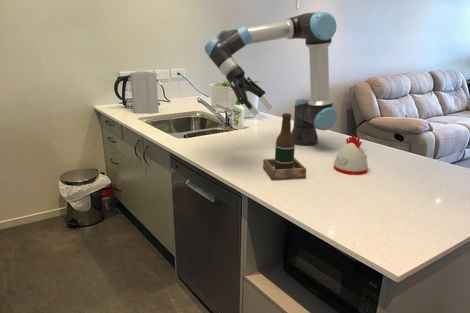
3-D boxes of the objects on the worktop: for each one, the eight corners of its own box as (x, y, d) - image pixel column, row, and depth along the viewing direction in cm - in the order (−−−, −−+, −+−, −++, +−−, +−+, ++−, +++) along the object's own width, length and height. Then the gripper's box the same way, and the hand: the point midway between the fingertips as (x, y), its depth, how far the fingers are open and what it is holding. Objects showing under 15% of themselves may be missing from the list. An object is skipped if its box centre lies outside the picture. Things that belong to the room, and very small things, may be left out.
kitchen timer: (349, 177, 147) (353, 142, 142) (326, 166, 159) (330, 133, 154) (374, 171, 153) (379, 137, 148) (350, 161, 165) (354, 130, 160)
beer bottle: (294, 168, 153) (298, 112, 145) (291, 175, 146) (295, 116, 138) (276, 166, 155) (279, 111, 147) (272, 172, 148) (275, 115, 140)
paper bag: (128, 111, 266) (124, 72, 257) (146, 108, 276) (143, 71, 266) (140, 115, 253) (137, 74, 244) (159, 112, 262) (156, 73, 253)
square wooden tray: (293, 166, 158) (294, 157, 157) (305, 178, 145) (306, 168, 144) (263, 168, 156) (263, 159, 155) (272, 180, 143) (272, 170, 142)
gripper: (241, 74, 162) (270, 111, 160) (210, 80, 141) (244, 123, 139) (251, 63, 157) (282, 100, 155) (222, 67, 137) (256, 110, 135)
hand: (264, 111), depth 147 cm, fingers open, 13 cm apart
